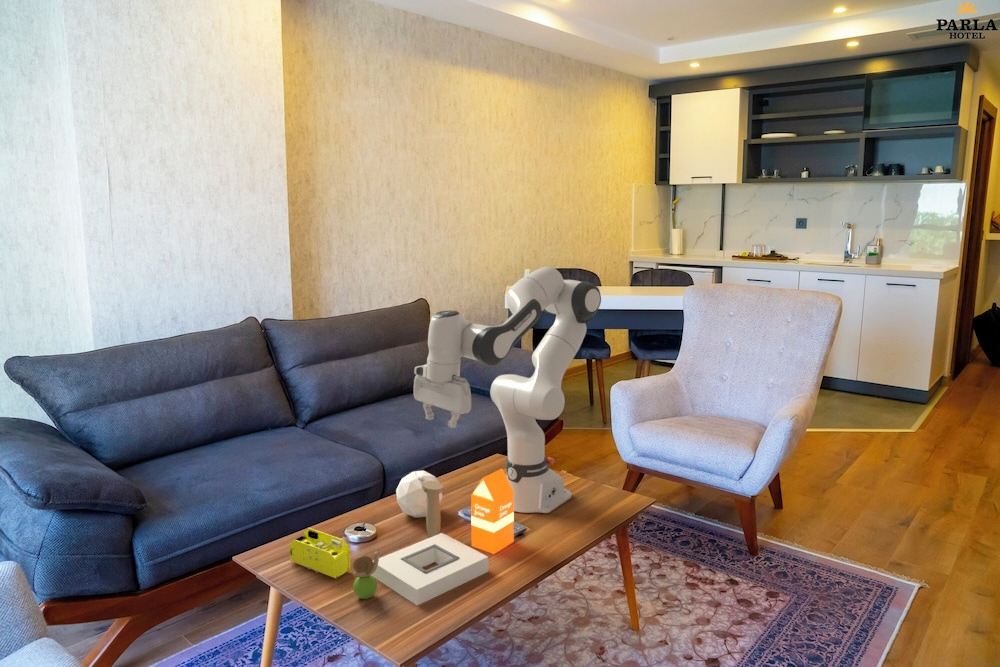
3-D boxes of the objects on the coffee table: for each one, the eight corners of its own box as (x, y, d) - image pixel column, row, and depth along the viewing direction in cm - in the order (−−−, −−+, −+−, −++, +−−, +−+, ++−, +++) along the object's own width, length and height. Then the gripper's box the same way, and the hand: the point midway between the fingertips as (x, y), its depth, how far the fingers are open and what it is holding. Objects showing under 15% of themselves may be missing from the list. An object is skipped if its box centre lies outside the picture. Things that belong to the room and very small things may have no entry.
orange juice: (471, 545, 193) (470, 474, 189) (491, 533, 200) (491, 464, 196) (494, 554, 188) (494, 481, 185) (514, 541, 195) (514, 471, 192)
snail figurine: (383, 600, 167) (381, 552, 164) (354, 605, 165) (352, 556, 163) (380, 588, 172) (378, 541, 170) (352, 592, 170) (350, 545, 168)
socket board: (442, 546, 192) (441, 531, 192) (488, 571, 180) (488, 555, 179) (372, 576, 177) (371, 560, 177) (417, 605, 165) (416, 588, 164)
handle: (434, 543, 194) (433, 491, 191) (419, 535, 199) (418, 484, 196) (448, 538, 197) (447, 486, 195) (433, 530, 202) (432, 479, 199)
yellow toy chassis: (351, 572, 180) (350, 540, 178) (335, 582, 175) (333, 550, 174) (306, 555, 188) (305, 525, 187) (289, 564, 184) (288, 533, 182)
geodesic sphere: (457, 503, 206) (443, 458, 211) (413, 514, 199) (399, 467, 204) (439, 517, 217) (426, 474, 222) (397, 528, 210) (384, 483, 215)
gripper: (478, 378, 186) (475, 430, 188) (428, 365, 201) (426, 413, 202) (459, 380, 182) (457, 433, 184) (410, 366, 196) (408, 416, 198)
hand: (440, 423), depth 193 cm, fingers open, 8 cm apart
